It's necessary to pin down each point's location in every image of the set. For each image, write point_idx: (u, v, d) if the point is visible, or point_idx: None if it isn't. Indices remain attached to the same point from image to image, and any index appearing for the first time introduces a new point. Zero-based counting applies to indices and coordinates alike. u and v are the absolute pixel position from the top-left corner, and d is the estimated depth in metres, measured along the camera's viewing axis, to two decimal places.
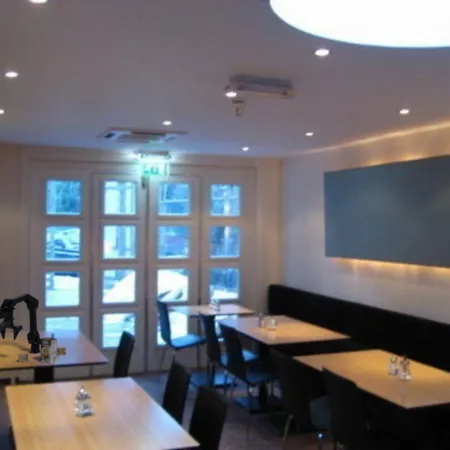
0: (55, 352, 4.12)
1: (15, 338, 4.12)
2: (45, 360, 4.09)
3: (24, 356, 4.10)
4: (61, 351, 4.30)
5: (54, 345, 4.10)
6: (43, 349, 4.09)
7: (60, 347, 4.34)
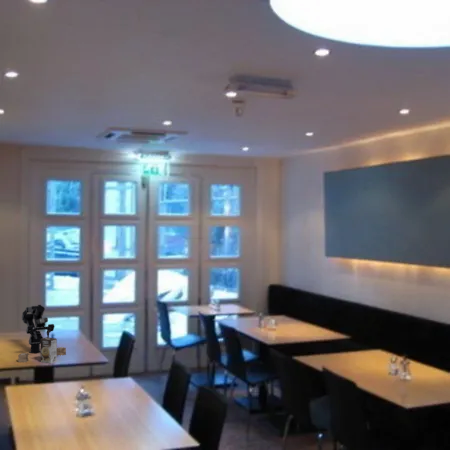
0: (55, 352, 4.12)
1: (48, 336, 4.27)
2: (45, 360, 4.09)
3: (24, 356, 4.10)
4: (61, 351, 4.30)
5: (54, 345, 4.10)
6: (43, 349, 4.09)
7: (60, 347, 4.34)
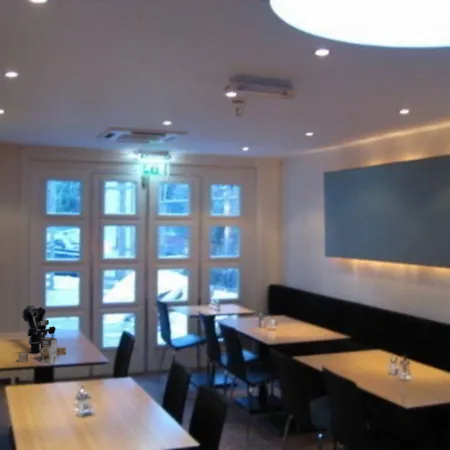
0: (55, 352, 4.12)
1: None
2: (45, 360, 4.09)
3: (24, 356, 4.10)
4: (61, 351, 4.30)
5: (54, 345, 4.10)
6: (43, 349, 4.09)
7: (60, 347, 4.34)
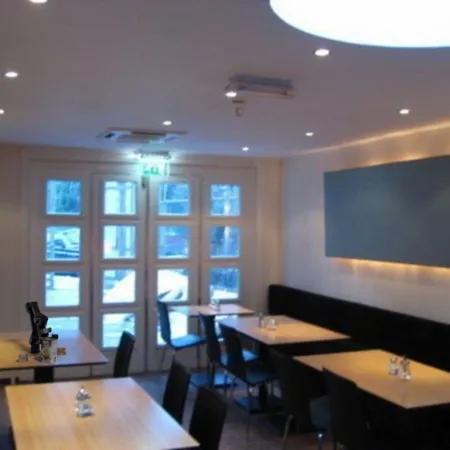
0: (56, 352, 4.11)
1: None
2: (46, 361, 4.08)
3: (24, 356, 4.10)
4: (61, 351, 4.30)
5: (54, 346, 4.09)
6: (44, 350, 4.08)
7: (60, 347, 4.34)
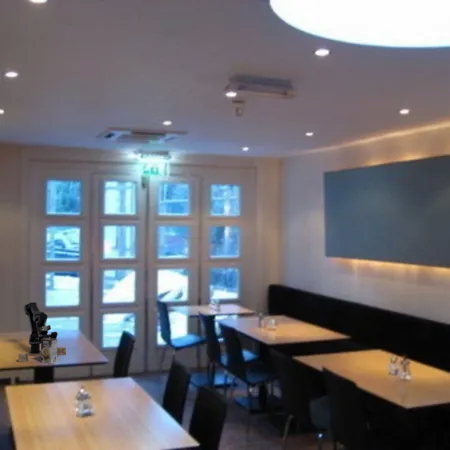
0: (56, 352, 4.11)
1: None
2: (46, 361, 4.08)
3: (24, 356, 4.10)
4: (61, 351, 4.30)
5: (54, 346, 4.09)
6: (44, 350, 4.08)
7: (60, 347, 4.34)
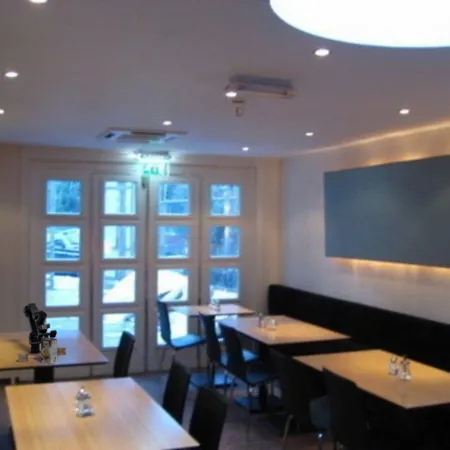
0: (56, 352, 4.11)
1: None
2: (46, 361, 4.08)
3: (24, 356, 4.10)
4: (61, 351, 4.30)
5: (54, 346, 4.09)
6: (44, 350, 4.08)
7: (60, 347, 4.34)
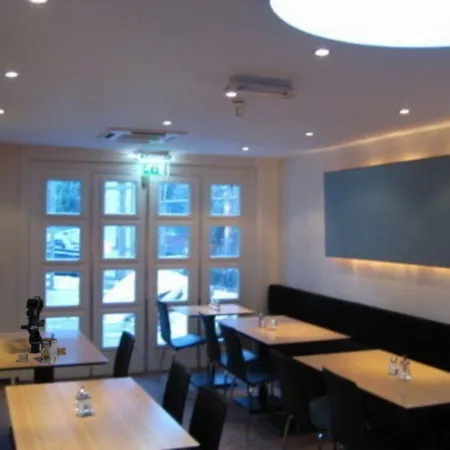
0: (56, 352, 4.11)
1: None
2: (46, 361, 4.08)
3: (24, 356, 4.10)
4: (61, 351, 4.30)
5: (54, 346, 4.09)
6: (44, 350, 4.08)
7: (60, 347, 4.34)
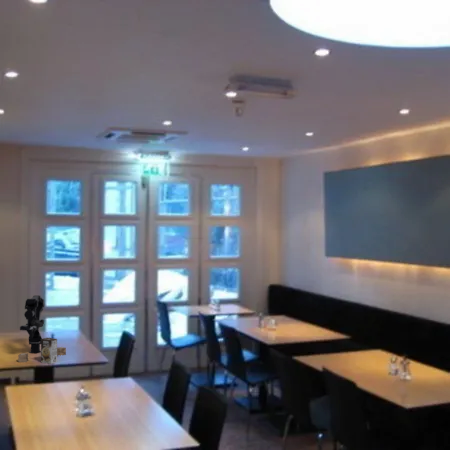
0: (56, 352, 4.11)
1: None
2: (46, 361, 4.08)
3: (24, 356, 4.10)
4: (61, 351, 4.30)
5: (54, 346, 4.09)
6: (44, 350, 4.08)
7: (60, 347, 4.34)
